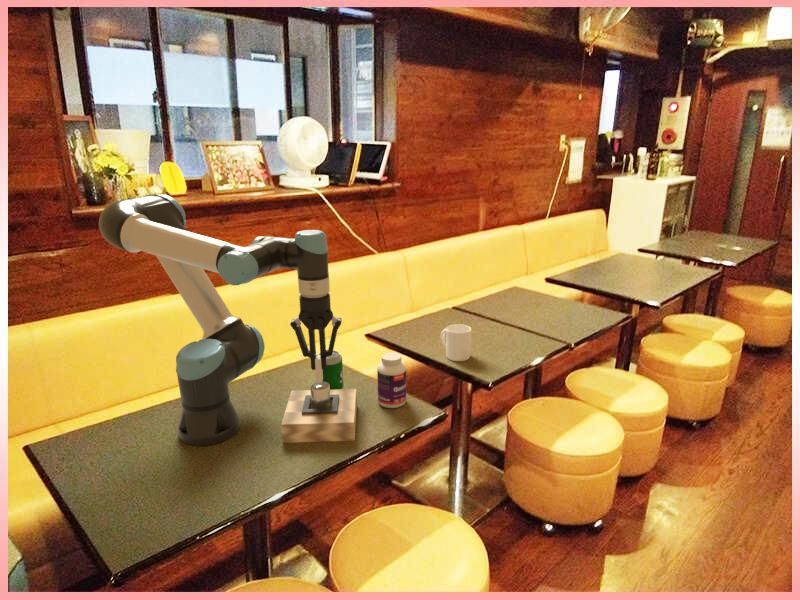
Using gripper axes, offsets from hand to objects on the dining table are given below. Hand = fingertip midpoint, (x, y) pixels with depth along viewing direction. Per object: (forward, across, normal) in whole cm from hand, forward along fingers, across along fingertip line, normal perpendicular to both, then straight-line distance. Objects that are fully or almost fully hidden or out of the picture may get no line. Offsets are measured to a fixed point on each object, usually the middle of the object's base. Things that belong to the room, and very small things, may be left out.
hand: (319, 380), depth 145 cm
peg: (+8, 0, 0) cm, 8 cm away
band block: (+13, 0, 0) cm, 13 cm away
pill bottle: (+13, +19, +10) cm, 25 cm away
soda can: (+13, +1, +18) cm, 22 cm away
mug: (+13, +41, +42) cm, 60 cm away
